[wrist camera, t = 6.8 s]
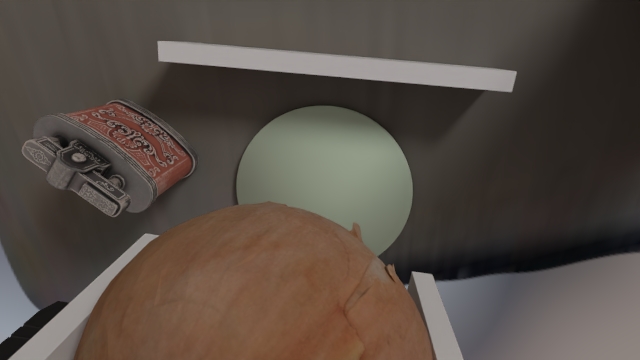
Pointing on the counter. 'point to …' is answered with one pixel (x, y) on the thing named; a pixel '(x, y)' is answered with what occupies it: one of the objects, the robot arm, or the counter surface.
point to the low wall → (337, 65)
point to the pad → (331, 171)
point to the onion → (256, 294)
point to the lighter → (111, 155)
